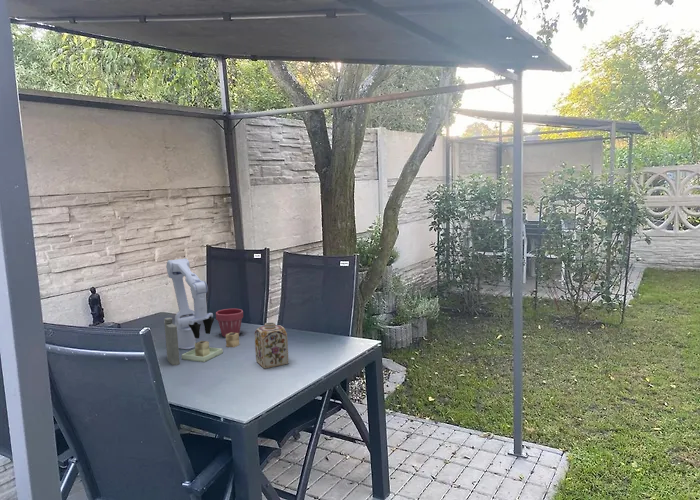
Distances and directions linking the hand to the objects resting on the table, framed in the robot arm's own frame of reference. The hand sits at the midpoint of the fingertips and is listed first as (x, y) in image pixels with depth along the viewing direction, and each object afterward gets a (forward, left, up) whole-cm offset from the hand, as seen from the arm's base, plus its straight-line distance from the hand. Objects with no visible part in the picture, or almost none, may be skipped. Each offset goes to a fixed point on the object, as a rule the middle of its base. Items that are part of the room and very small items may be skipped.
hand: (202, 335), depth 243 cm
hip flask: (-9, -11, -10) cm, 17 cm away
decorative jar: (+38, 0, -10) cm, 39 cm away
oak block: (+5, +16, -9) cm, 19 cm away
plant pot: (-8, +32, -10) cm, 35 cm away
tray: (+1, -2, -9) cm, 9 cm away
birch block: (+1, -2, -9) cm, 9 cm away
